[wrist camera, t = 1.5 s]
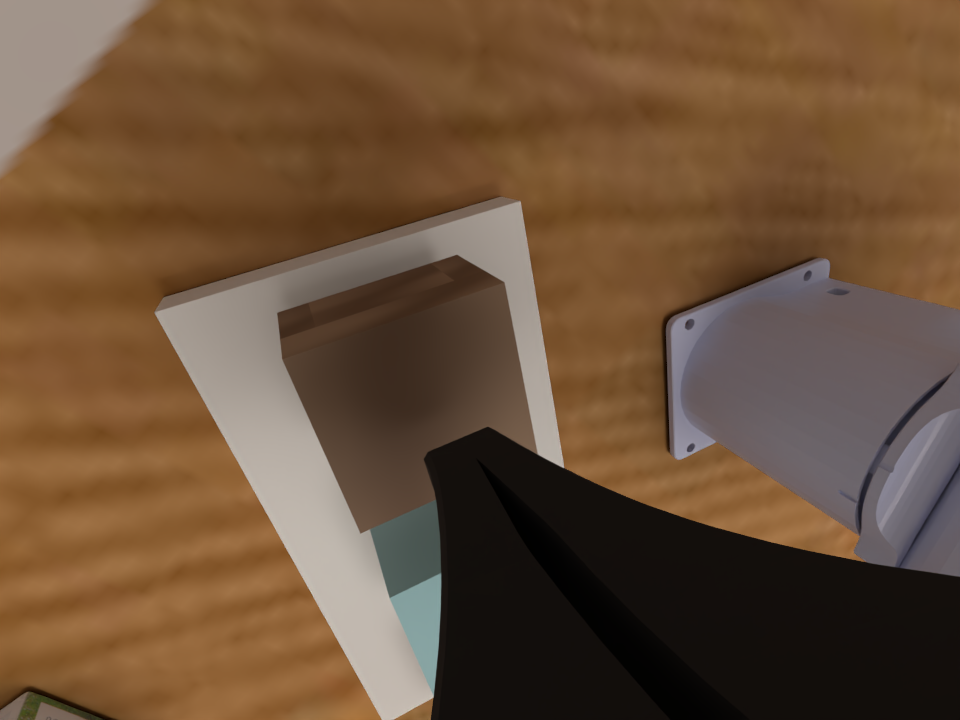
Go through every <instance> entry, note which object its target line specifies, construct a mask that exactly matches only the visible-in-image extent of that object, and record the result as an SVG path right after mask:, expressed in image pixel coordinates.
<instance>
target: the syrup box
mask: <svg viewBox="0 0 960 720" xmlns="http://www.w3.org/2000/svg"><path fill="white" fill-rule="evenodd" d="M0 720H104V719H101V718H99V717H96V716H94V715H92V714H89V713H86V712H84V711H81V710H78V709H75V708H73V707H70V706H68V705H65V704H63V703H60V702H58V701H55V700H52V699H50V698H48V697H45V696H42V695H39V694H36V693H33V692H26V693H24V694H23V695H21V696H20V697H18V698H17V699H15V700H14V701H13V702H11V703H10V704H8V705H7V706H6V707H4V708H3V709H1V710H0Z"/></svg>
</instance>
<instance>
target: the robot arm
mask: <svg viewBox="0 0 960 720" xmlns="http://www.w3.org/2000/svg"><path fill="white" fill-rule="evenodd" d="M829 271H830V262H829V260H827V259H824V258H816V259H814V260H811V261H809V262H807V263H804V264H802V265H799V266H797V267H794V268H792V269H789V270H787V271H784V272H782V273H779V274H777V275H774V276H772V277H769V278H767V279H764V280H762V281H759V282H757V283H754V284H752V285H749V286H747V287H744V288H742V289H739V290H737V291H734V292H732V293H729V294H727V295H725V296H722V297H720V298H717V299H715V300H712V301H710V302H707V303H705V304H702V305H700V306H697V307H695V308H692V309H690V310H687V311H685V312H682V313H680V314H677V315H675V316H673V317H672V318H671V319H670V320H669V321H668V323H667V325H666V346H667V376H668V406H669V435H670V454H671V455H672V456H673V457H674V458H676V459H678V460H680V459H683V458H685V457H687V456H689V455H691V454H693V453H695V452H697V451H699V450H701V449H703V448H706V447H708V446H710V445H712V444H714V443H716V442H718V443H719V444H721V445H722V446H724V447H725V448H727V449H728V450H730V451H731V452H733V453H734V454H736V455H737V456H739V457H741V458H742V459H744V460H745V461H747V462H748V463H750V464H751V465H753V466H754V467H756V468H757V469H759V470H760V471H762V472H763V473H765V474H766V475H768V476H769V477H771V478H772V479H774V480H775V481H777V482H778V483H780V484H781V485H783V486H784V487H786V488H788V489H789V490H791V491H792V492H794V493H795V494H797V495H798V496H800V497H801V498H803V499H804V500H806V501H807V502H809V503H810V504H812V505H813V506H815V507H816V508H818V509H819V510H821V511H822V512H824V513H825V514H827V515H828V516H830V517H831V518H833V519H835V520H836V521H838V522H839V523H841V524H842V525H844V526H845V527H847V528H848V529H850V530H851V531H853V532H854V533H856V534H857V535H859V536H860V537H859V540H858V543H857V545H856V547H855V549H854V553H855V554H856V555H857V556H859V557H860V558H862V559H863V560H865V561H866V562H861V561H856V560H851V559H846V558H841V557H836V556H831V555H826V554H821V553H816V552H811V551H806V550H802V549H798V548H793V547H789V546H785V545H780V544H776V543H771V542H767V541H764V540H760V539H756V538H752V537H749V536H745V535H741V534H737V533H734V532H730V531H726V530H722V529H719V528H715V527H712V526H708V525H705V524H702V523H699V522H695V521H692V520H689V519H686V518H683V517H680V516H677V515H674V514H671V513H668V512H666V511H663V510H660V509H657V508H654V507H651V506H648V505H646V504H643V503H640V502H638V501H635V500H633V499H630V498H628V497H626V496H623V495H621V494H619V493H616V492H614V491H612V490H609V489H607V488H605V487H602V486H600V485H598V484H596V483H594V482H591V481H589V480H587V479H585V478H583V477H581V476H579V475H577V474H575V473H573V472H571V471H569V470H567V469H565V468H563V467H561V466H559V465H557V464H555V463H553V462H551V461H549V460H547V459H545V458H543V457H542V456H540V455H538V454H536V453H534V452H532V451H531V450H529V449H527V448H525V447H523V446H522V445H520V444H518V443H516V442H515V441H513V440H511V439H510V438H508V437H506V436H504V435H503V434H501V433H499V432H498V431H496V430H494V429H492V428H490V427H486V428H483V429H481V430H478V431H476V432H474V433H471V434H469V435H467V436H464V437H462V438H459V439H457V440H455V441H452V442H450V443H448V444H445V445H443V446H441V447H438V448H436V449H433V450H431V451H429V452H427V454H426V456H425V458H424V462H425V465H426V468H427V471H428V474H429V477H430V480H431V483H432V486H433V489H434V492H435V497H436V503H437V512H438V522H439V532H440V552H441V611H440V630H439V646H438V657H437V668H436V678H435V688H434V698H433V706H432V715H431V720H960V310H958V309H954V308H950V307H946V306H942V305H938V304H934V303H930V302H926V301H921V300H917V299H913V298H909V297H905V296H901V295H897V294H893V293H888V292H884V291H880V290H876V289H872V288H868V287H864V286H860V285H856V284H851V283H847V282H843V281H839V280H835V279H831V278H829ZM687 320H688V323H687V324H686V325H685V323H686V322H687ZM867 562H868V563H867Z"/></svg>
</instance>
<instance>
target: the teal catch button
mask: <svg viewBox="0 0 960 720" xmlns="http://www.w3.org/2000/svg"><path fill="white" fill-rule="evenodd" d="M370 532H371V535H372V539H373V542H374V546H375V549H376V553H377V556H378V560H379V563H380V567H381V570H382V574H383V577H384V581H385V584H386V587H387V591H388V594H389V598H390V600H391V603H392V605H393V607H394V609H395V611H396V614H397V616H398V618H399V620H400V623H401V625H402V627H403V629H404V631H405V634H406V636H407V638H408V640H409V643H410V645H411V647H412V649H413V651H414V654H415V656H416V658H417V660H418V663H419V665H420V667H421V669H422V671H423V674H424V676H425V678H426V680H427V683H428V685H429V687H430V689H431V691H432V694H433V696H434V688H435V678H436V668H437V657H438V646H439V630H440V611H441V552H440V532H439V522H438V512H437V503H436V500H434V501H432V502H430V503H428V504H425V505H423V506H421V507H419V508H416V509H414V510H412V511H410V512H408V513H405V514H403V515H401V516H399V517H396V518H394V519H392V520H390V521H388V522H385V523H383V524H381V525H379V526H376V527H374V528H372V529H370Z"/></svg>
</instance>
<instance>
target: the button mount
mask: <svg viewBox="0 0 960 720" xmlns="http://www.w3.org/2000/svg"><path fill="white" fill-rule="evenodd" d="M454 255H458V256H460V257H462V258H464V259H465V260H467V261H469V262H470V263H472V264H474V265H476V266H477V267H479V268H481V269H482V270H484V271H486V272H488V273H489V274H491V275H493V276H495V277H496V278H498V279H500V280H501V281H503V282H505V287H506V292H507V297H508V302H509V308H510V313H511V318H512V323H513V328H514V333H515V339H516V344H517V349H518V354H519V359H520V364H521V370H522V375H523V380H524V385H525V390H526V396H527V401H528V406H529V411H530V416H531V421H532V427H533V432H534V437H535V442H536V447H537V452H538V455H540V456H542V457H543V458H545V459H547V460H549V461H551V462H553V463H555V464H557V465H559V466H561V467H563V468H564V463H563V457H562V451H561V445H560V439H559V433H558V427H557V421H556V415H555V408H554V402H553V396H552V390H551V384H550V378H549V372H548V366H547V360H546V354H545V347H544V341H543V335H542V329H541V323H540V317H539V311H538V305H537V299H536V293H535V286H534V280H533V274H532V268H531V262H530V256H529V250H528V244H527V238H526V232H525V226H524V219H523V213H522V207H521V201H518V200H514V199H510V198H506V197H498V198H494V199H491V200H488V201H484V202H481V203H478V204H474V205H471V206H468V207H464V208H461V209H458V210H454V211H451V212H448V213H444V214H441V215H438V216H434V217H431V218H428V219H424V220H421V221H417V222H414V223H411V224H407V225H404V226H401V227H397V228H394V229H391V230H387V231H384V232H381V233H377V234H374V235H371V236H367V237H364V238H361V239H357V240H354V241H351V242H347V243H344V244H341V245H337V246H334V247H330V248H327V249H324V250H320V251H317V252H314V253H310V254H307V255H304V256H300V257H297V258H294V259H290V260H287V261H284V262H280V263H277V264H274V265H270V266H267V267H264V268H260V269H257V270H253V271H250V272H247V273H243V274H240V275H237V276H233V277H230V278H227V279H223V280H220V281H217V282H213V283H210V284H207V285H203V286H200V287H197V288H193V289H190V290H187V291H183V292H180V293H176V294H173V295H170V296H166V297H163V299H162V300H161V302H160V304H159V305H158V307H157V309H156V310H155V312H154V313H155V315H156V316H157V318H158V320H159V322H160V324H161V325H162V327H163V329H164V331H165V333H166V334H167V336H168V338H169V340H170V342H171V343H172V345H173V347H174V349H175V350H176V352H177V354H178V356H179V358H180V359H181V361H182V363H183V365H184V367H185V368H186V370H187V372H188V374H189V375H190V377H191V379H192V381H193V383H194V384H195V386H196V388H197V390H198V392H199V393H200V395H201V397H202V399H203V400H204V402H205V404H206V406H207V408H208V409H209V411H210V413H211V415H212V417H213V418H214V420H215V422H216V424H217V426H218V427H219V429H220V431H221V433H222V434H223V436H224V438H225V440H226V442H227V443H228V445H229V447H230V449H231V451H232V452H233V454H234V456H235V458H236V459H237V461H238V463H239V465H240V467H241V468H242V470H243V472H244V474H245V476H246V477H247V479H248V481H249V483H250V484H251V486H252V488H253V490H254V492H255V493H256V495H257V497H258V499H259V501H260V502H261V504H262V506H263V508H264V509H265V511H266V513H267V515H268V517H269V518H270V520H271V522H272V524H273V526H274V527H275V529H276V531H277V533H278V535H279V536H280V538H281V540H282V542H283V543H284V545H285V547H286V549H287V551H288V552H289V554H290V556H291V558H292V560H293V561H294V563H295V565H296V567H297V568H298V570H299V572H300V574H301V576H302V577H303V579H304V581H305V583H306V585H307V586H308V588H309V590H310V592H311V593H312V595H313V597H314V599H315V601H316V602H317V604H318V606H319V608H320V610H321V611H322V613H323V615H324V617H325V619H326V620H327V622H328V624H329V626H330V627H331V629H332V631H333V633H334V635H335V636H336V638H337V640H338V642H339V644H340V645H341V647H342V649H343V651H344V652H345V654H346V656H347V658H348V660H349V661H350V663H351V665H352V667H353V669H354V670H355V672H356V674H357V676H358V677H359V679H360V681H361V683H362V685H363V686H364V688H365V690H366V692H367V694H368V695H369V697H370V699H371V701H372V703H373V704H374V706H375V708H376V710H377V711H378V713H379V715H380V717H381V719H382V720H394V719H395V718H397V717H399V716H401V715H403V714H404V713H406V712H408V711H410V710H412V709H413V708H415V707H417V706H419V705H421V704H423V703H424V702H426V701H428V700H430V699H432V698H433V697H434V696H433V694H432V691H431V689H430V687H429V685H428V683H427V680H426V678H425V676H424V674H423V671H422V669H421V667H420V665H419V663H418V660H417V658H416V656H415V654H414V651H413V649H412V647H411V645H410V643H409V640H408V638H407V636H406V634H405V631H404V629H403V627H402V625H401V623H400V620H399V618H398V616H397V614H396V611H395V609H394V607H393V605H392V603H391V600H390V598H389V594H388V591H387V587H386V584H385V581H384V577H383V574H382V570H381V567H380V563H379V560H378V556H377V553H376V549H375V546H374V542H373V539H372V535H371V532H370V530H367V531H365V532H363V533H361V534H360V531H359V529H358V527H357V525H356V522H355V520H354V518H353V516H352V514H351V511H350V509H349V507H348V505H347V502H346V500H345V498H344V496H343V494H342V491H341V489H340V487H339V485H338V482H337V480H336V478H335V476H334V474H333V471H332V469H331V467H330V465H329V462H328V460H327V458H326V456H325V454H324V451H323V449H322V447H321V445H320V442H319V440H318V438H317V436H316V434H315V431H314V429H313V427H312V425H311V422H310V420H309V418H308V416H307V413H306V411H305V409H304V407H303V405H302V402H301V400H300V398H299V396H298V393H297V391H296V389H295V387H294V385H293V382H292V380H291V378H290V376H289V373H288V371H287V369H286V367H285V365H284V362H283V360H282V353H281V344H280V334H279V325H278V316H277V313H278V312H281V311H284V310H287V309H290V308H293V307H296V306H300V305H303V304H306V303H309V302H312V301H315V300H318V299H321V298H324V297H327V296H331V295H334V294H337V293H340V292H343V291H346V290H349V289H352V288H355V287H358V286H362V285H365V284H368V283H371V282H374V281H377V280H380V279H383V278H386V277H389V276H393V275H396V274H399V273H402V272H405V271H408V270H411V269H414V268H417V267H420V266H423V265H427V264H430V263H433V262H436V261H439V260H442V259H445V258H448V257H451V256H454Z"/></svg>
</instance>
